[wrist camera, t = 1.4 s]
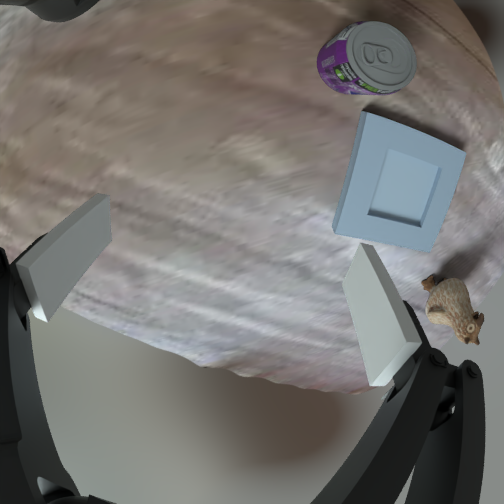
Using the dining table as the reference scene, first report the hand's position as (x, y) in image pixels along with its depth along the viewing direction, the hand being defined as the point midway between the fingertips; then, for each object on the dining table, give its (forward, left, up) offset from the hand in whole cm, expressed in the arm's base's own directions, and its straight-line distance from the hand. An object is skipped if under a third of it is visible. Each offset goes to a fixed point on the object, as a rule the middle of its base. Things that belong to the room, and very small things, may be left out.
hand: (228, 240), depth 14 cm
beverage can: (-13, +9, -22) cm, 27 cm away
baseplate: (0, +20, -22) cm, 30 cm away
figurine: (+15, +35, -22) cm, 44 cm away
